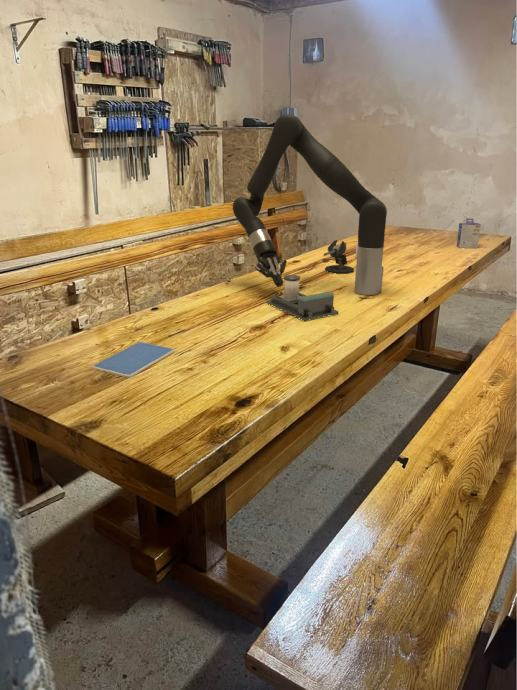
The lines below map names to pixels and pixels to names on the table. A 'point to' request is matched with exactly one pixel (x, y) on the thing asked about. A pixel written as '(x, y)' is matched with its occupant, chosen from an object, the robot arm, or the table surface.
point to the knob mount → (307, 305)
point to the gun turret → (338, 259)
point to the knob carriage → (291, 288)
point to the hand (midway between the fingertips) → (280, 285)
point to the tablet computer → (133, 359)
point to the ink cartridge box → (468, 234)
